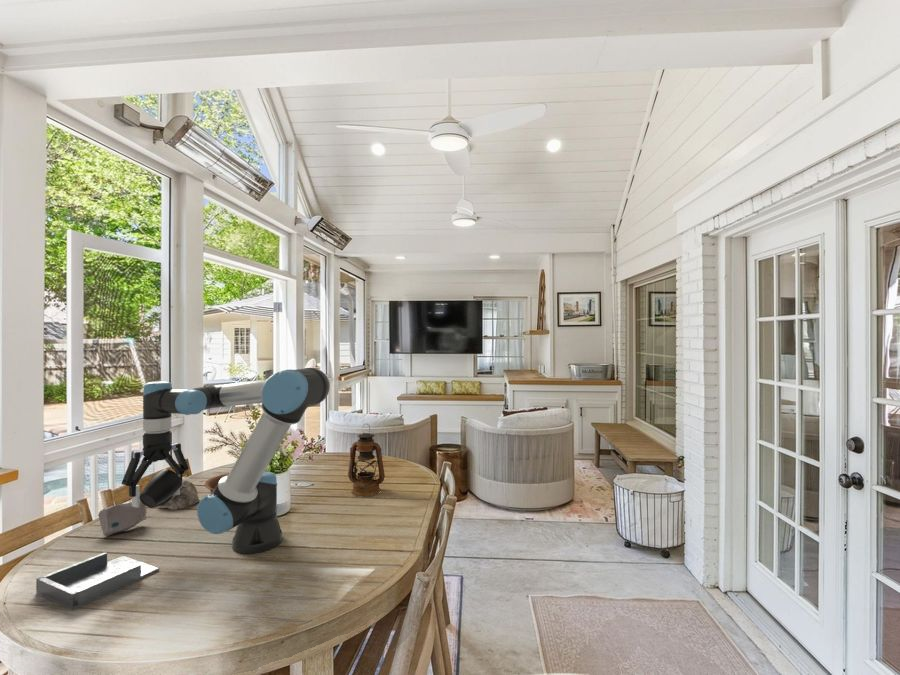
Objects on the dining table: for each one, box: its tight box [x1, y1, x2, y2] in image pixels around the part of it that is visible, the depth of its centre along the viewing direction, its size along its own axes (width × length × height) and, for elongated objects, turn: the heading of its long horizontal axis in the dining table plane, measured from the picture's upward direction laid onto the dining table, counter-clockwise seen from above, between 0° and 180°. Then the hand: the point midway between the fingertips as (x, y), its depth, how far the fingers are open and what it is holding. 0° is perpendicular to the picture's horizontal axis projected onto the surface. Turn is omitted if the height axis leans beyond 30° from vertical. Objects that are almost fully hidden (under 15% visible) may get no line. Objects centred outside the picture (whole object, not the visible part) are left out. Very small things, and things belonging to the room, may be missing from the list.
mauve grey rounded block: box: [97, 501, 148, 537], centre depth 156 cm, size 13×10×6 cm
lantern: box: [347, 423, 386, 497], centre depth 196 cm, size 17×13×30 cm
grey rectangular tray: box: [35, 551, 160, 612], centre depth 123 cm, size 17×21×4 cm
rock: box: [156, 478, 200, 510], centre depth 181 cm, size 15×12×10 cm
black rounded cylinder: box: [140, 468, 182, 509], centre depth 141 cm, size 8×12×10 cm
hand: (156, 500), depth 141 cm, fingers closed on black rounded cylinder, 12 cm apart
